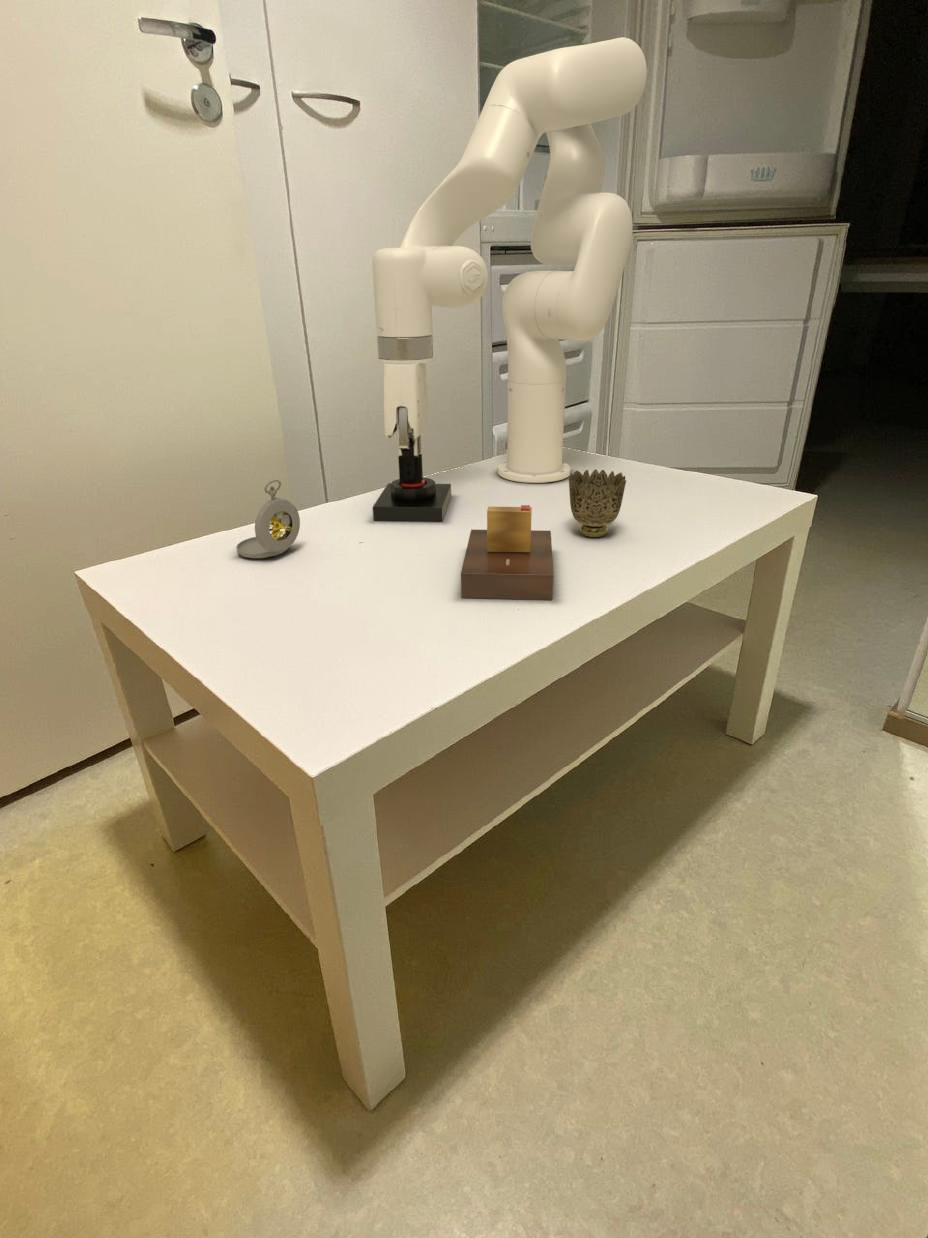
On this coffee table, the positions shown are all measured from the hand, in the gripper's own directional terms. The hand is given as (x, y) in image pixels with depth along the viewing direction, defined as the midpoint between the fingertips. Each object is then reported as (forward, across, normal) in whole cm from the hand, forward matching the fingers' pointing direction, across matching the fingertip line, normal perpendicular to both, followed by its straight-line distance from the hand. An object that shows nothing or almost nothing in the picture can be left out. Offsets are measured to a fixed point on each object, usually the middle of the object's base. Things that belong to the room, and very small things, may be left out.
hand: (411, 481), depth 104 cm
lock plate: (+4, +24, +15) cm, 29 cm away
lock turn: (+1, +24, +15) cm, 28 cm away
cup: (+4, +10, +26) cm, 28 cm away
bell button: (+2, 0, 0) cm, 2 cm away
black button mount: (+4, 0, 0) cm, 4 cm away
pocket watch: (+5, +19, -16) cm, 25 cm away
